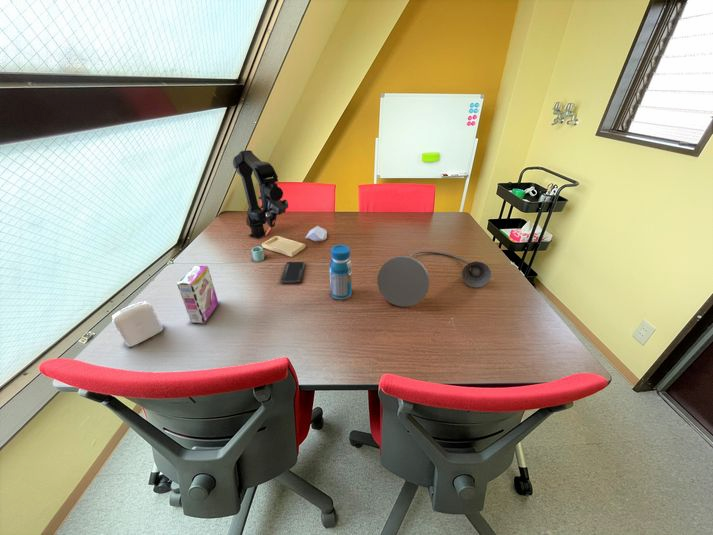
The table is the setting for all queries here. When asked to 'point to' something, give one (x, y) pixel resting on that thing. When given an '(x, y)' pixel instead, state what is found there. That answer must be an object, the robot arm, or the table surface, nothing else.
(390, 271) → the desk lamp
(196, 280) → the candy bar box
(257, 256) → the cup
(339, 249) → the beverage bottle
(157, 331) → the photo printer
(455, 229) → the table surface
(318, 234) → the crumpled paper
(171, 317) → the table surface
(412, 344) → the table surface
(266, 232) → the red thin rounded piece
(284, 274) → the phone
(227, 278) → the table surface
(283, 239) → the tray
